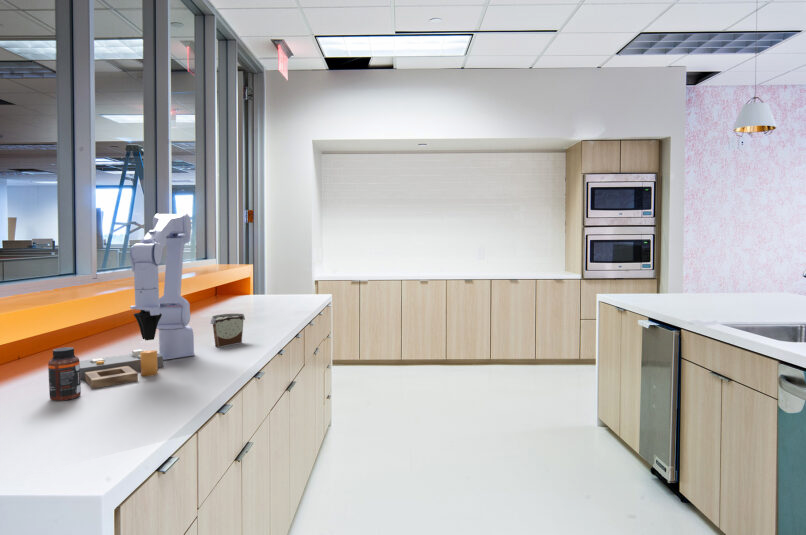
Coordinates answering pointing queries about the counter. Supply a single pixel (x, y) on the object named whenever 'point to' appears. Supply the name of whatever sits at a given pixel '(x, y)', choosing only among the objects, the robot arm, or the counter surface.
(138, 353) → the block
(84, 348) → the counter surface
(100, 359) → the white cube
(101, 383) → the frame
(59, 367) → the supplement bottle
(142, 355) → the cap
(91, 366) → the breaker panel
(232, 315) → the food container
